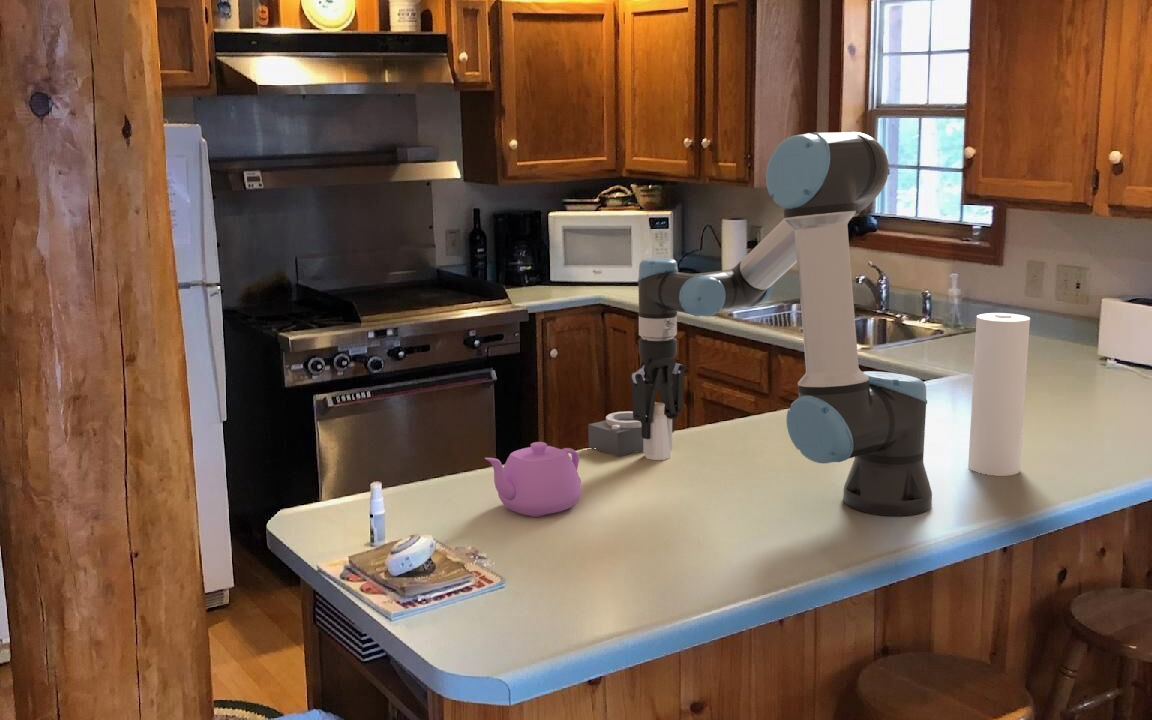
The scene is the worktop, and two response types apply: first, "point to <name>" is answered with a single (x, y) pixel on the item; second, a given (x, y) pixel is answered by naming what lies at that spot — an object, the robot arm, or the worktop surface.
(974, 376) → the cylinder container
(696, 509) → the worktop surface
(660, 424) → the salt shaker
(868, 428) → the robot arm
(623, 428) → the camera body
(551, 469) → the teapot
